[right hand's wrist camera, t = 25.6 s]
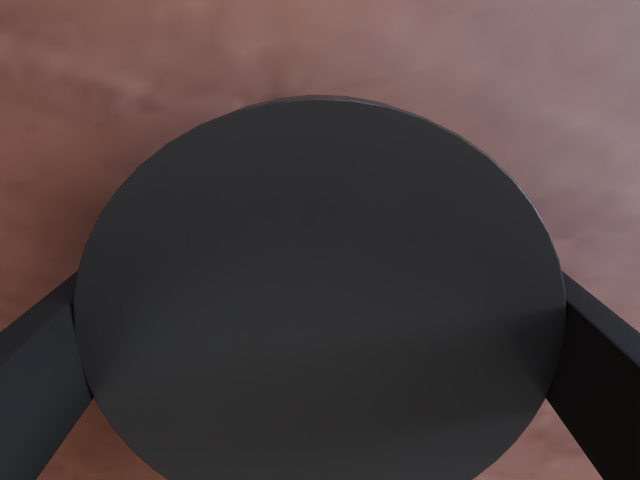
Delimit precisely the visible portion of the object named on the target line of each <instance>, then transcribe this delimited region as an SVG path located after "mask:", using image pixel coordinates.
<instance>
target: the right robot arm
mask: <svg viewBox="0 0 640 480" xmlns="http://www.w3.org/2000/svg"><path fill="white" fill-rule="evenodd" d="M77 273H78V271H77V272H75V273H74V274H73V275H72V276H70V277H69V278H68V279H67V280H65V281H64V282H63V283H62V284H60V285H59V286H58V287H57V288H55V289H54V290H53V291H52V292H50V293H49V294H48V295H47V296H46V297H44V298H43V299H42V300H41V301H39V302H38V303H37V304H36V305H34V306H33V307H32V308H31V309H29V310H28V311H27V312H26V313H24V314H23V315H22V316H21V317H19V318H18V319H17V320H16V321H14V322H13V323H12V324H11V325H9V326H8V327H7V328H6V329H4V330H3V331H2V332H1V333H0V480H36V479H37V478H38V476H39V475H40V473H41V472H42V470H43V469H44V468H45V466H46V465H47V463H48V462H49V460H50V459H51V458H52V456H53V455H54V453H55V452H56V451H57V449H58V448H59V446H60V445H61V443H62V442H63V441H64V439H65V438H66V436H67V435H68V433H69V432H70V431H71V429H72V428H73V426H74V425H75V424H76V422H77V421H78V419H79V418H80V416H81V415H82V414H83V412H84V411H85V409H86V408H87V407H88V405H89V404H90V402H91V401H92V399H93V398H94V396H93V394H92V392H91V390H90V388H89V386H88V383H87V380H86V377H85V375H84V372H83V368H82V364H81V360H80V356H79V351H78V346H77V341H76V337H75V332H74V306H73V302H74V295H75V287H76V279H77ZM562 276H563V281H564V286H565V295H566V327H565V333H564V338H563V343H562V347H561V352H560V356H559V361H558V365H557V369H556V373H555V377H554V379H553V382H552V384H551V386H550V389H549V391H548V393H547V396H546V399H547V400H548V402H549V403H550V404H551V406H552V407H553V409H554V410H555V412H556V413H557V414H558V416H559V417H560V419H561V420H562V421H563V423H564V424H565V426H566V427H567V429H568V430H569V431H570V433H571V434H572V436H573V437H574V439H575V440H576V441H577V443H578V444H579V446H580V447H581V448H582V450H583V451H584V453H585V454H586V456H587V457H588V458H589V460H590V461H591V463H592V464H593V465H594V467H595V468H596V470H597V471H598V473H599V474H600V475H601V477H602V478H603V480H640V333H639V332H638V331H636V330H635V329H634V328H633V327H631V326H630V325H629V324H628V323H626V322H625V321H624V320H623V319H621V318H620V317H619V316H618V315H616V314H615V313H614V312H613V311H611V310H610V309H609V308H608V307H606V306H605V305H604V304H603V303H601V302H600V301H599V300H598V299H596V298H595V297H594V296H593V295H591V294H590V293H589V292H588V291H586V290H585V289H584V288H583V287H581V286H580V285H579V284H578V283H576V282H575V281H574V280H573V279H571V278H570V277H569V276H568V275H566V274H565V273H564V272H563V271H562Z"/></svg>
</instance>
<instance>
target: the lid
mask: <svg viewBox="0 0 640 480" xmlns="http://www.w3.org/2000/svg"><path fill="white" fill-rule="evenodd" d="M73 306H74V332H75V337H76V341H77V346H78V351H79V356H80V360H81V364H82V368H83V372H84V375H85V377H86V380H87V383H88V386H89V388H90V390H91V392H92V394H93V396H94V398H95V400H96V402H97V404H98V406H99V408H100V409H101V411H102V412H103V414H104V415H105V417H106V418H107V420H108V421H109V423H110V424H111V426H112V427H113V429H114V430H115V431H116V433H117V434H118V435H119V436H120V437H121V438H122V439H123V441H124V442H125V443H126V444H127V445H128V446H129V447H130V448H131V450H132V451H133V452H134V453H136V454H137V455H138V456H139V457H140V458H141V459H142V460H143V461H144V462H146V463H147V464H148V465H149V466H150V467H151V468H152V469H154V470H155V471H156V472H158V473H159V474H161V475H162V476H163V477H165V478H166V479H168V480H472V479H474V478H475V477H477V476H478V475H479V474H480V473H482V472H483V471H484V470H485V469H487V468H488V467H489V466H490V465H492V464H493V463H494V462H496V461H497V460H498V459H499V458H500V457H501V456H502V455H503V454H504V453H505V452H506V451H507V450H508V449H509V448H510V447H511V446H512V445H513V444H514V443H515V442H516V440H517V439H518V438H519V437H520V435H521V434H522V433H523V432H524V430H525V429H526V428H527V426H528V425H529V424H530V423H531V421H532V420H533V418H534V416H535V415H536V413H537V411H538V410H539V408H540V406H541V405H542V403H543V401H544V400H545V398H546V396H547V393H548V391H549V389H550V386H551V384H552V382H553V379H554V377H555V373H556V369H557V365H558V361H559V356H560V352H561V347H562V343H563V338H564V333H565V327H566V295H565V286H564V281H563V276H562V271H561V266H560V261H559V258H558V255H557V253H556V250H555V247H554V245H553V242H552V239H551V236H550V234H549V231H548V230H547V228H546V226H545V224H544V222H543V221H542V219H541V217H540V215H539V214H538V212H537V210H536V208H535V206H534V205H533V203H532V202H531V201H530V199H529V198H528V197H527V196H526V194H525V193H524V192H523V191H522V189H521V188H520V187H519V185H518V184H517V183H516V182H515V180H514V179H513V178H512V177H511V176H510V175H509V174H508V173H507V172H506V171H504V170H503V169H502V168H501V167H500V166H499V165H498V164H497V163H496V162H495V161H494V160H493V159H492V158H491V157H489V156H488V155H487V154H486V153H484V152H483V151H481V150H480V149H478V148H477V147H476V146H474V145H473V144H471V143H470V142H468V141H467V140H465V139H464V138H463V137H461V136H460V135H458V134H456V133H454V132H452V131H450V130H448V129H446V128H444V127H442V126H440V125H438V124H436V123H434V122H432V121H430V120H428V119H426V118H423V117H421V116H418V115H415V114H413V113H410V112H407V111H404V110H401V109H398V108H395V107H392V106H389V105H386V104H383V103H380V102H376V101H370V100H365V99H359V98H353V97H348V96H329V95H306V96H296V97H286V98H278V99H274V100H270V101H266V102H262V103H258V104H253V105H249V106H246V107H244V108H241V109H239V110H236V111H234V112H231V113H229V114H226V115H223V116H221V117H218V118H216V119H213V120H211V121H208V122H206V123H203V124H201V125H199V126H197V127H195V128H194V129H192V130H190V131H188V132H187V133H185V134H183V135H181V136H180V137H178V138H176V139H174V140H173V141H171V142H169V143H168V144H166V145H165V146H164V147H163V148H161V149H160V150H159V151H158V152H156V153H155V154H154V155H152V156H151V157H150V158H149V159H147V160H146V161H145V162H144V163H142V164H141V165H140V166H139V167H138V168H137V169H136V170H135V171H134V172H133V173H132V175H131V176H130V177H129V178H128V179H127V180H126V181H125V182H124V183H123V184H122V185H121V186H120V187H119V188H118V189H117V191H116V192H115V194H114V195H113V197H112V198H111V200H110V201H109V203H108V204H107V206H106V207H105V208H104V210H103V211H102V213H101V214H100V216H99V218H98V220H97V222H96V224H95V226H94V228H93V230H92V232H91V234H90V237H89V239H88V241H87V243H86V245H85V249H84V252H83V256H82V259H81V262H80V266H79V269H78V273H77V279H76V287H75V295H74V302H73Z"/></svg>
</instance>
